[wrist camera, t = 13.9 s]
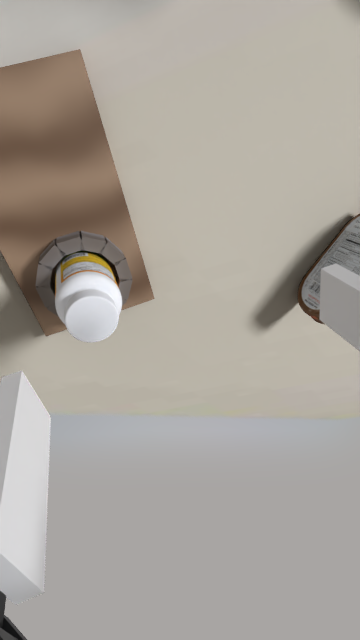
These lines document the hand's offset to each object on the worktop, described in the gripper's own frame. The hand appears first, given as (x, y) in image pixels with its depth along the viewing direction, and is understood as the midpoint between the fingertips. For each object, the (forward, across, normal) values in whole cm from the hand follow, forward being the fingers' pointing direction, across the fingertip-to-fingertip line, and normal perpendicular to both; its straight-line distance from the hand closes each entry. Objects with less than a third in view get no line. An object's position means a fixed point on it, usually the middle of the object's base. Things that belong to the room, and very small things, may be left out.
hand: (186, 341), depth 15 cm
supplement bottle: (+22, -5, -4) cm, 22 cm away
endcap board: (+23, -5, +2) cm, 23 cm away
